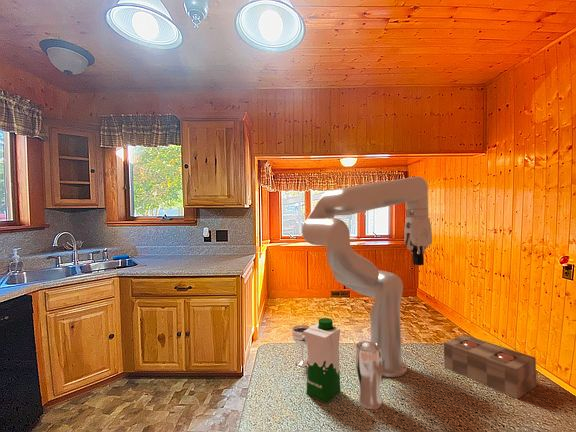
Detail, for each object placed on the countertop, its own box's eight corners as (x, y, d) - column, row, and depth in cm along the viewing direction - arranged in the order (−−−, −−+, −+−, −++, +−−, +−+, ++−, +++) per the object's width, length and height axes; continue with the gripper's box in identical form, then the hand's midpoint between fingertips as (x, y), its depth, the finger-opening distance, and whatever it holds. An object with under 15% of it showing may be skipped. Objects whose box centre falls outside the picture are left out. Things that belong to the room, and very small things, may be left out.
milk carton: (344, 391, 82) (343, 321, 83) (327, 407, 76) (325, 331, 76) (319, 380, 88) (317, 315, 88) (301, 394, 81) (299, 323, 82)
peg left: (473, 371, 90) (472, 347, 90) (460, 366, 94) (460, 342, 94) (480, 368, 92) (479, 344, 92) (467, 362, 96) (466, 340, 96)
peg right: (511, 387, 81) (510, 360, 82) (495, 380, 85) (494, 355, 85) (517, 382, 83) (516, 357, 84) (501, 376, 87) (501, 351, 87)
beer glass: (383, 396, 79) (382, 342, 79) (383, 413, 73) (381, 353, 73) (357, 392, 82) (356, 339, 82) (355, 407, 75) (353, 350, 75)
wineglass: (293, 358, 102) (292, 325, 102) (312, 359, 102) (311, 325, 102) (292, 368, 95) (291, 332, 96) (312, 369, 95) (311, 332, 95)
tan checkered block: (517, 399, 77) (516, 369, 77) (444, 367, 94) (443, 342, 94) (536, 385, 83) (535, 357, 83) (464, 357, 100) (464, 334, 100)
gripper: (412, 214, 97) (414, 268, 97) (439, 213, 105) (440, 264, 105) (394, 214, 104) (395, 265, 104) (420, 214, 111) (422, 261, 111)
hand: (418, 264), depth 104 cm, fingers closed
